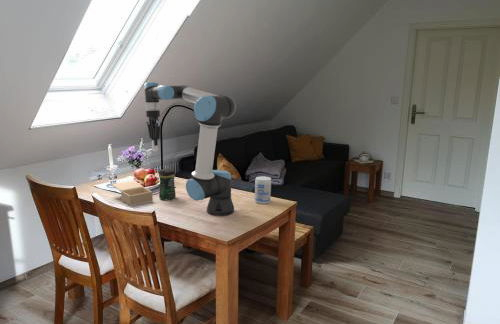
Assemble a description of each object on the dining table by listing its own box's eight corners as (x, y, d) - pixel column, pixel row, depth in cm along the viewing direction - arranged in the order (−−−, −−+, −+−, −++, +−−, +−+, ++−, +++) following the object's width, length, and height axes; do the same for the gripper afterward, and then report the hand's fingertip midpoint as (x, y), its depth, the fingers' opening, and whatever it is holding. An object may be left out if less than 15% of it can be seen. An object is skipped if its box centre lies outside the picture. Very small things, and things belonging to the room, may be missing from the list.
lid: (134, 180, 247) (134, 181, 247) (112, 184, 238) (112, 185, 238) (143, 186, 239) (143, 187, 239) (120, 190, 229) (120, 191, 230)
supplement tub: (257, 204, 228) (257, 180, 224) (252, 200, 236) (252, 176, 233) (272, 203, 230) (273, 179, 227) (267, 198, 239) (268, 175, 236)
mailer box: (152, 201, 231) (152, 191, 229) (130, 206, 222) (129, 196, 220) (143, 196, 240) (143, 187, 238) (121, 200, 231) (121, 191, 229)
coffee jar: (166, 201, 231) (165, 171, 227) (157, 198, 236) (156, 169, 232) (178, 197, 239) (177, 168, 235) (169, 195, 243) (168, 166, 239)
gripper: (164, 110, 218) (166, 151, 222) (153, 109, 227) (155, 149, 232) (152, 110, 213) (154, 153, 218) (141, 109, 223) (144, 150, 227)
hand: (155, 150), depth 225 cm, fingers closed
